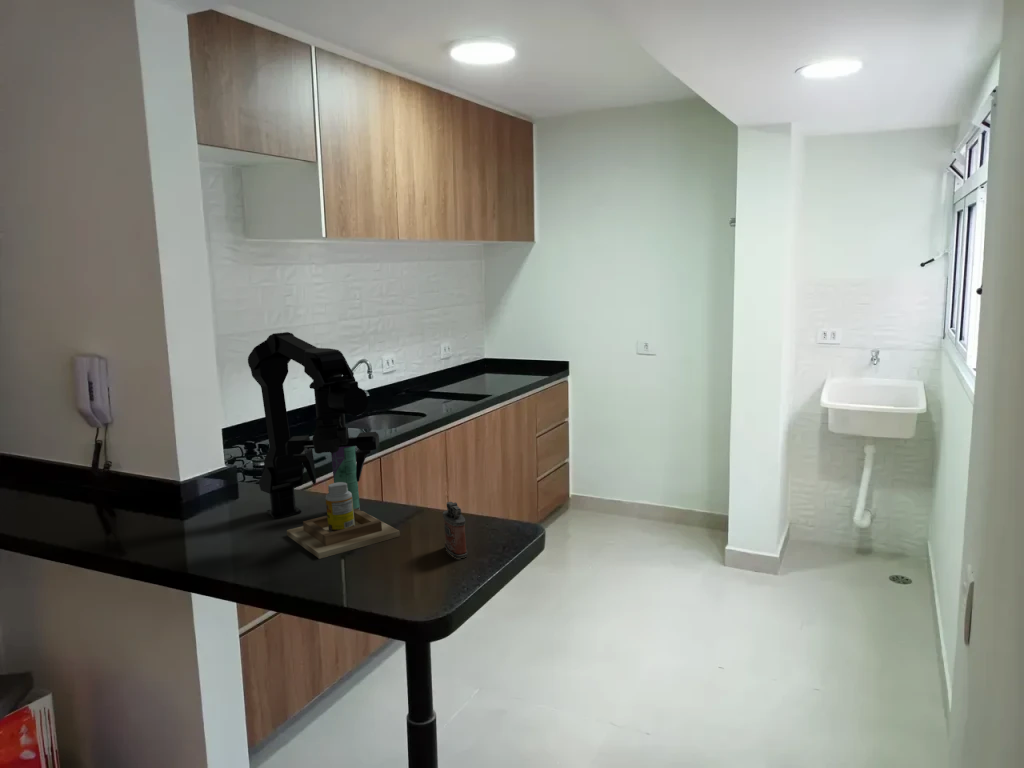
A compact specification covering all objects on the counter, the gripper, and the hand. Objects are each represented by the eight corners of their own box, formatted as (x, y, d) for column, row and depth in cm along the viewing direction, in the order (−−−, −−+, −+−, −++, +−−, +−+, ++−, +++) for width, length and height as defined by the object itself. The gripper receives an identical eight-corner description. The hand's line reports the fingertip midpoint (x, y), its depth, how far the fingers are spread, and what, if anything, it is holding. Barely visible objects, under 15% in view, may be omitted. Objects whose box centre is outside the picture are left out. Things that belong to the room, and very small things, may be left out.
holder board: (287, 535, 163) (285, 521, 162) (363, 516, 173) (362, 502, 173) (319, 558, 148) (317, 543, 148) (400, 536, 159) (398, 521, 158)
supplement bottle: (331, 526, 163) (327, 481, 162) (357, 525, 163) (353, 480, 162) (326, 535, 158) (321, 489, 156) (352, 534, 158) (348, 487, 156)
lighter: (441, 547, 151) (438, 499, 150) (457, 544, 153) (454, 497, 151) (454, 560, 144) (451, 510, 142) (471, 557, 145) (468, 507, 144)
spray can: (350, 506, 181) (343, 425, 178) (364, 509, 178) (358, 427, 175) (331, 512, 177) (324, 430, 174) (346, 516, 174) (339, 432, 170)
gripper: (274, 420, 148) (282, 496, 151) (369, 415, 149) (375, 491, 151) (288, 410, 159) (295, 481, 162) (376, 405, 160) (382, 475, 162)
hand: (336, 482), depth 159 cm, fingers open, 9 cm apart
